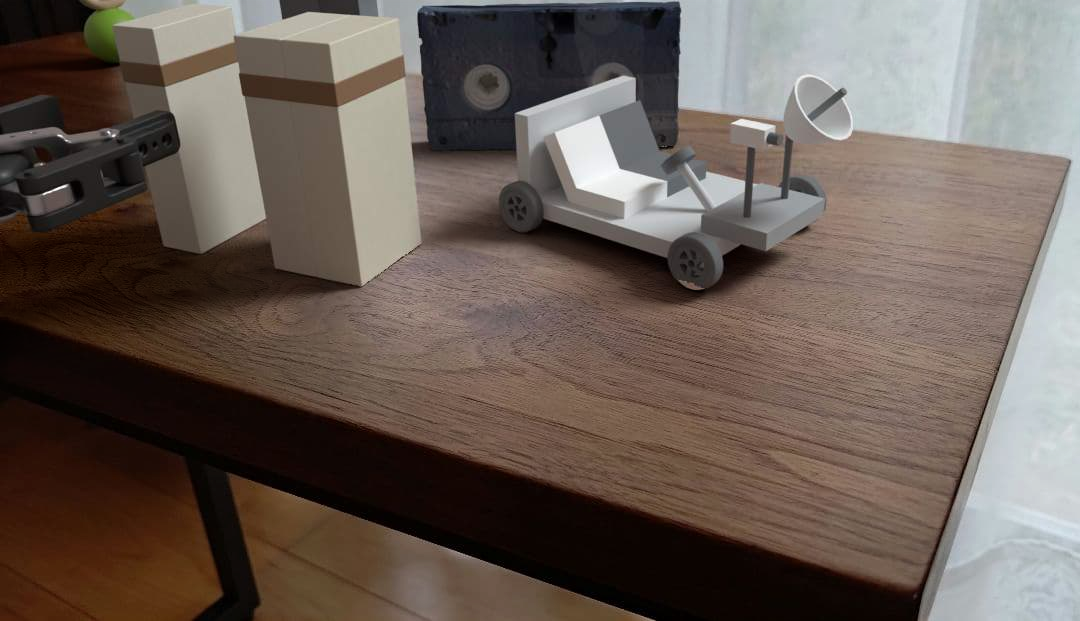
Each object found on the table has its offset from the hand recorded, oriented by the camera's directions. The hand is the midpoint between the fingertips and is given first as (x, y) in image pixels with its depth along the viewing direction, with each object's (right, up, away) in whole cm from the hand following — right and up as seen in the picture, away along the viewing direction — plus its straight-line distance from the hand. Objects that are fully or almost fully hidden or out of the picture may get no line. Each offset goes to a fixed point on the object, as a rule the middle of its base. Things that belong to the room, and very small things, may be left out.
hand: (112, 120), depth 53 cm
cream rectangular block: (+3, -5, +8) cm, 10 cm away
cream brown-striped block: (+12, -7, +4) cm, 14 cm away
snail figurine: (-20, +15, +48) cm, 55 cm away
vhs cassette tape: (+24, +2, +21) cm, 32 cm away
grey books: (+7, +6, +29) cm, 30 cm away
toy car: (+31, -6, +6) cm, 32 cm away
